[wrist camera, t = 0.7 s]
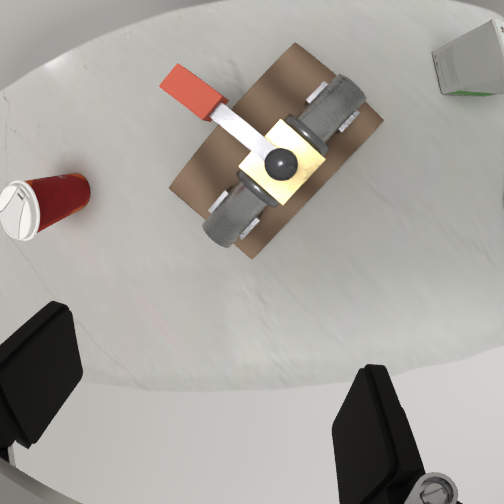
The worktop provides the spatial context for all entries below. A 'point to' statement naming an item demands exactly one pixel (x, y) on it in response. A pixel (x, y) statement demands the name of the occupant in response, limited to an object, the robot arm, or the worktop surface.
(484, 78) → the skincare box
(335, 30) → the worktop surface
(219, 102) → the valve lever
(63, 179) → the paper cup
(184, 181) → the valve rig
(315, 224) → the worktop surface
